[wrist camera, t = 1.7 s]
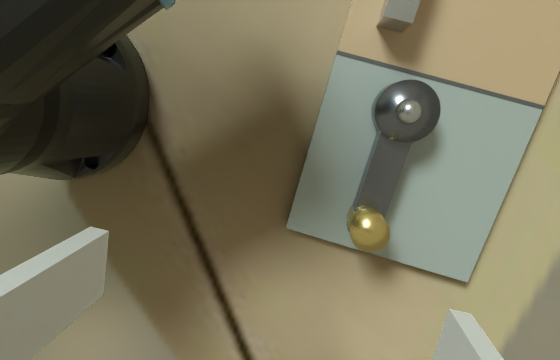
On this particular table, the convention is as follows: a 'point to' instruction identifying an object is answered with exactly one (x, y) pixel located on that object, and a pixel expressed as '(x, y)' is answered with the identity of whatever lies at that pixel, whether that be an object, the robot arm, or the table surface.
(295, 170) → the table surface
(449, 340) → the robot arm
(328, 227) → the door board
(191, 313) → the table surface
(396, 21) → the block
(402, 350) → the table surface
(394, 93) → the swing bar
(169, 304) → the table surface
